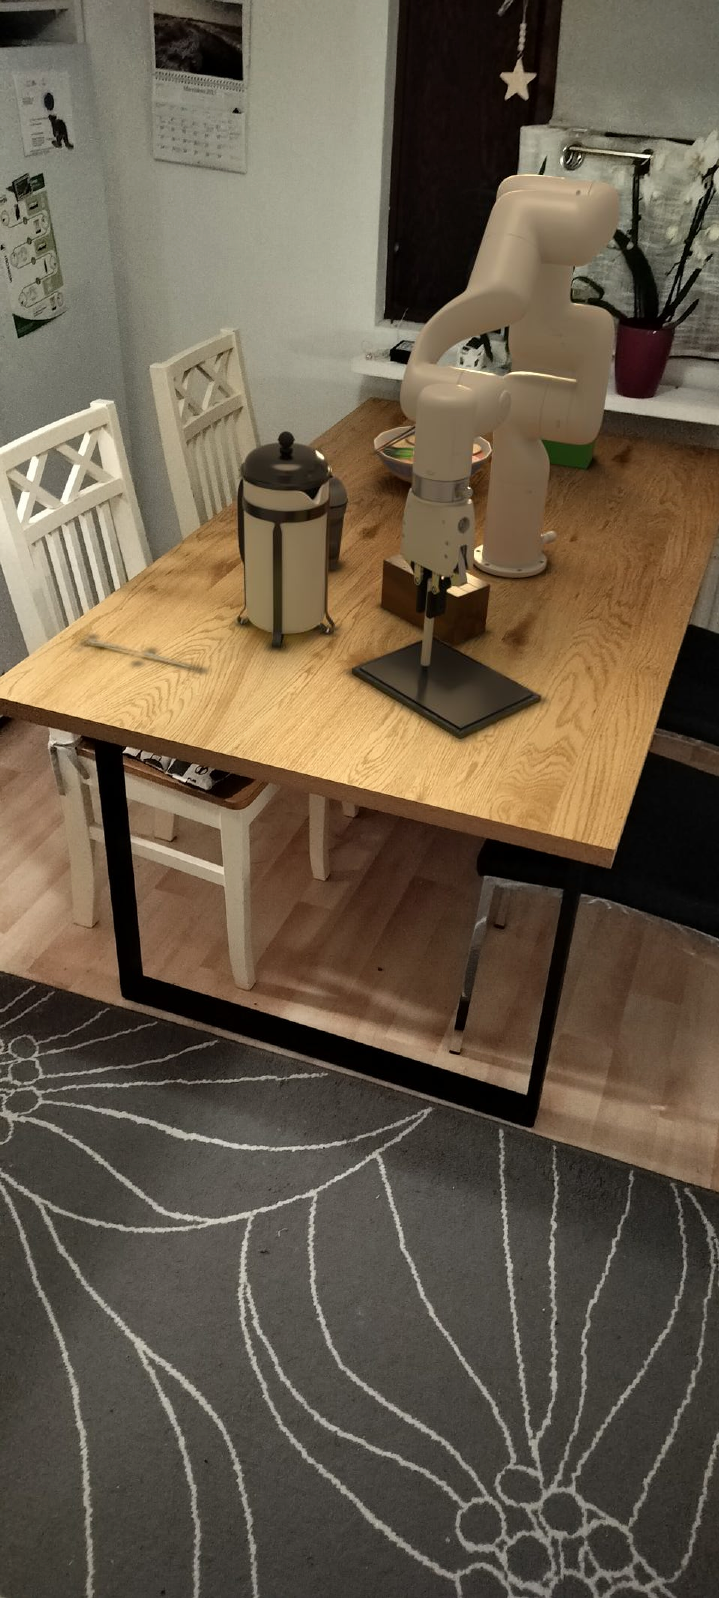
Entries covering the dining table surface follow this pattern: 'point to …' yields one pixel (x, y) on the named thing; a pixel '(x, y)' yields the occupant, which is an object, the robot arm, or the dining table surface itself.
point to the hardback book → (558, 450)
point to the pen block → (462, 602)
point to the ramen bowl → (399, 451)
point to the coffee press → (285, 537)
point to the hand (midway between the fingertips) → (430, 612)
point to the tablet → (447, 687)
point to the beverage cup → (336, 518)
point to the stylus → (99, 643)
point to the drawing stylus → (427, 636)
